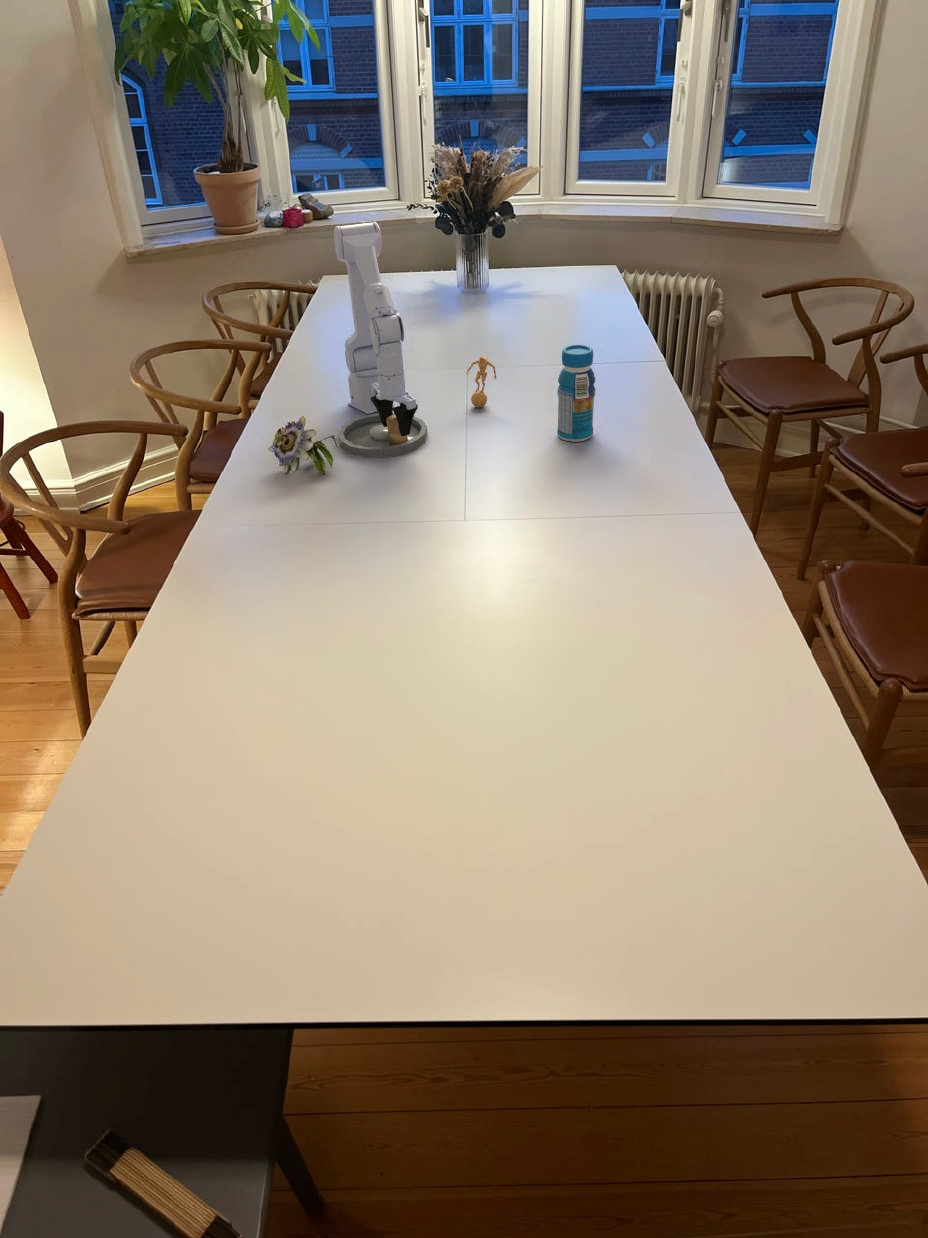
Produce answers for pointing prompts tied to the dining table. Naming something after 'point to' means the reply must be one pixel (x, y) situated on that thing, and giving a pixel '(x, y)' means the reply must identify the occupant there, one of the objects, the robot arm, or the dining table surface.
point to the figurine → (479, 396)
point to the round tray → (378, 449)
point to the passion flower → (299, 447)
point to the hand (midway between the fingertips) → (396, 430)
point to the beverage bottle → (576, 394)
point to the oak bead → (394, 432)
